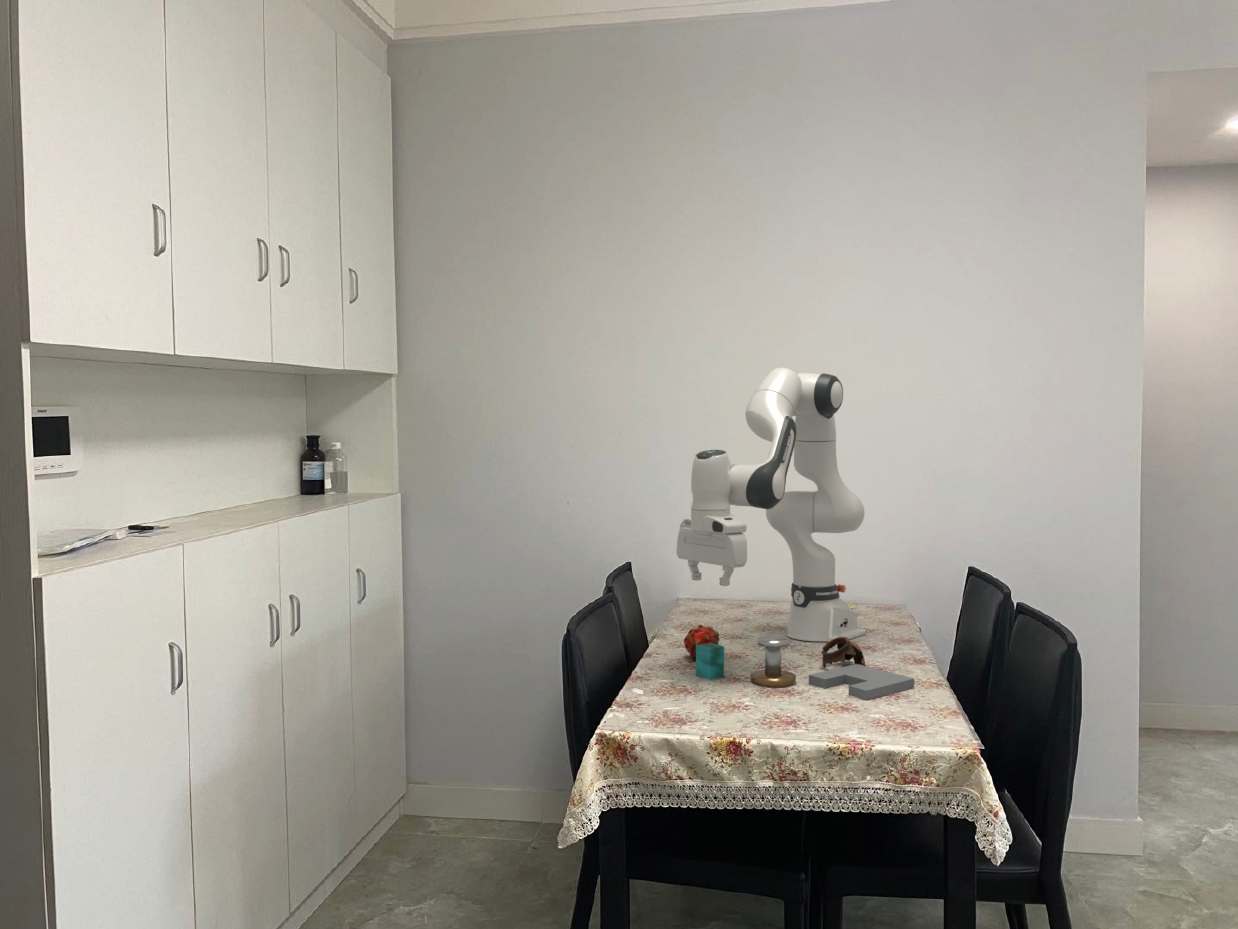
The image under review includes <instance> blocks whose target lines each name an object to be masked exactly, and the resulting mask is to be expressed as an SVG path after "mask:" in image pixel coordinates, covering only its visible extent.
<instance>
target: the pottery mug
mask: <svg viewBox="0 0 1238 929" xmlns="http://www.w3.org/2000/svg"><path fill="white" fill-rule="evenodd" d="M834 647H836V648H837V649H836V650H834V651H832V652H829V651H830V650H831V649H833V648H834ZM821 649H822V651H820V653H821V655H822V666H823V667H824V668H826V667H827V665H828V664H829V665H832V664H836V663H838V662H843V663H846V662H847V661H851V660H852V659H853V662H854V663H853V665H854V664H858V665H862V666H866V660H865V656H864V654H863V651H862V649H861V647H859V645H858V644H857V643H855V642H854V641H852V640H850V639H848V638H847V637H838V638H835V639H833V640H831V641H829V642H828V641H827V643H825V644H824V645H823V647H822V648H821ZM866 667H867V666H866Z"/></svg>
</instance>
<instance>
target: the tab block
mask: <svg viewBox="0 0 1238 929" xmlns="http://www.w3.org/2000/svg"><path fill="white" fill-rule="evenodd" d="M695 676H696V677H699V678H701V679H705V680H708V681H711V680H715V679H720V678H724V677H725V646H724V645H721V644H719V645H717V644H713V643H707V644H702V645H696V660H695Z"/></svg>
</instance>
